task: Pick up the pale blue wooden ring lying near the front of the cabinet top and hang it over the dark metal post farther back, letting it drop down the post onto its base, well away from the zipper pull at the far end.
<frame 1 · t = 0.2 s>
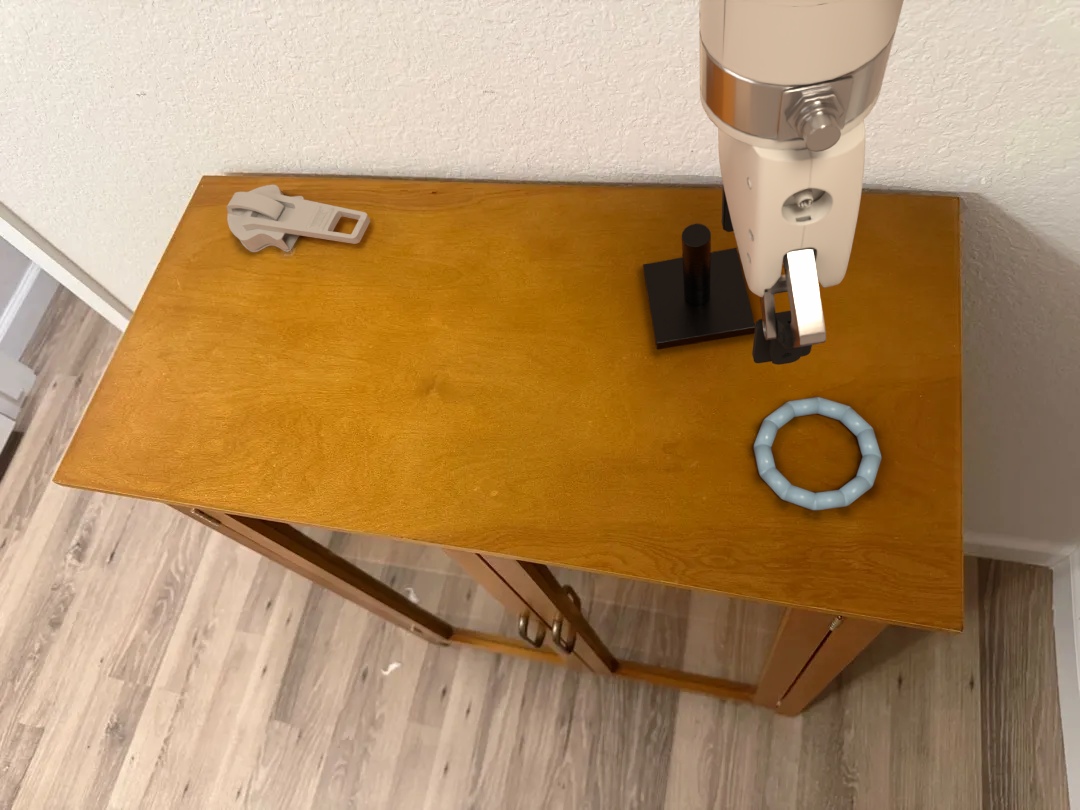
hand: (763, 287, 47), 22 cm above the table, tool pointing down, fingers open, 9 cm apart
zipper pull: (305, 232, 87), on the table
ring: (816, 452, 64), point 1 cm above the table
post: (697, 301, 73), on the table
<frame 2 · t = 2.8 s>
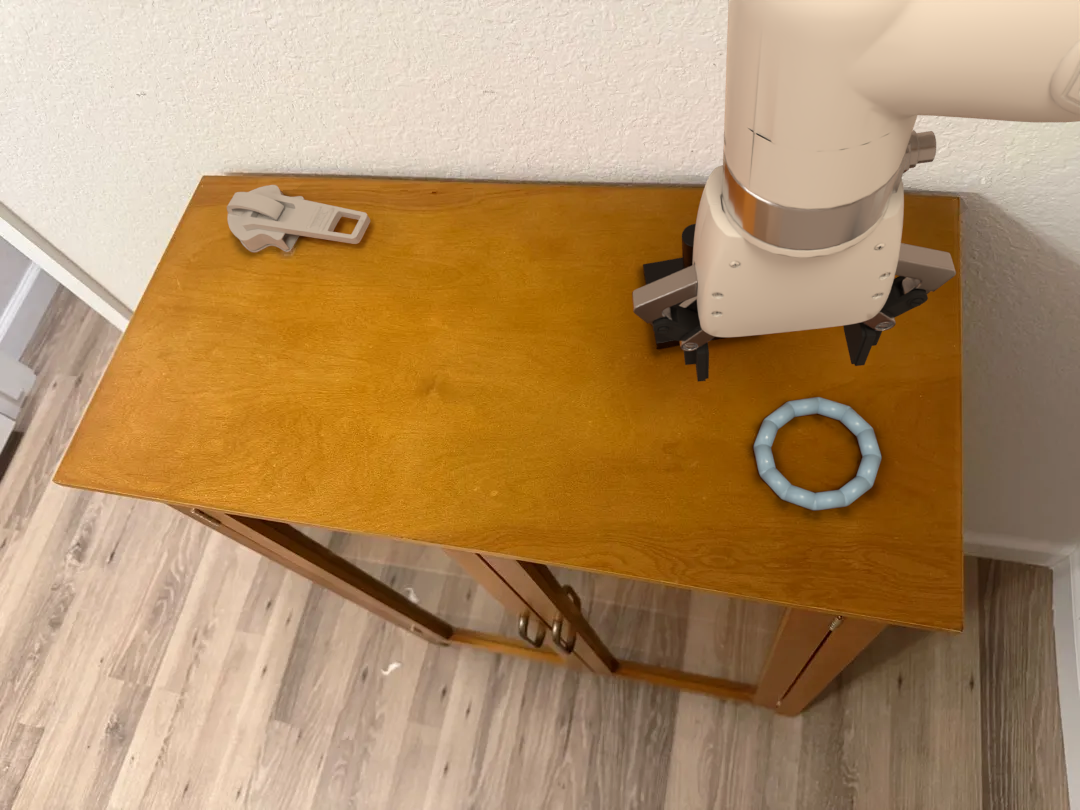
hand: (775, 354, 50), 18 cm above the table, tool pointing down, fingers open, 9 cm apart
nothing on the table moved.
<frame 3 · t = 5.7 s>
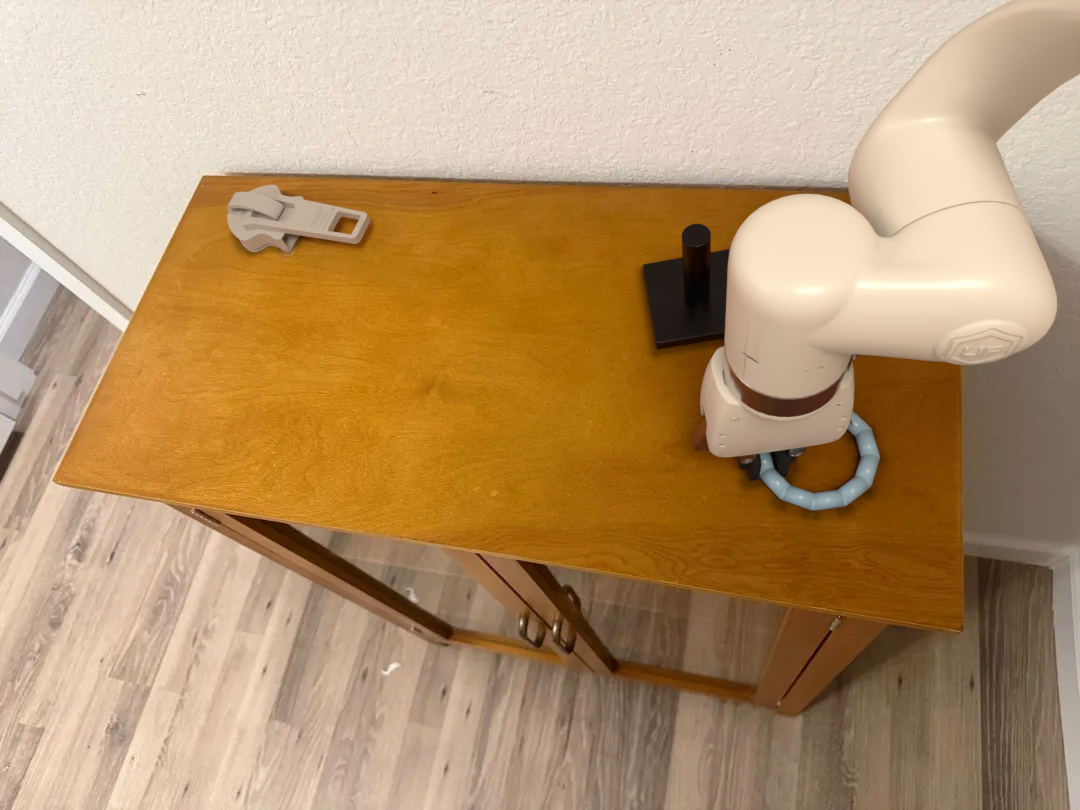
hand: (764, 461, 65), 0 cm above the table, tool pointing down, fingers closed on ring, 1 cm apart
ring: (814, 452, 64), point 1 cm above the table, touching gripper
everything else where it was.
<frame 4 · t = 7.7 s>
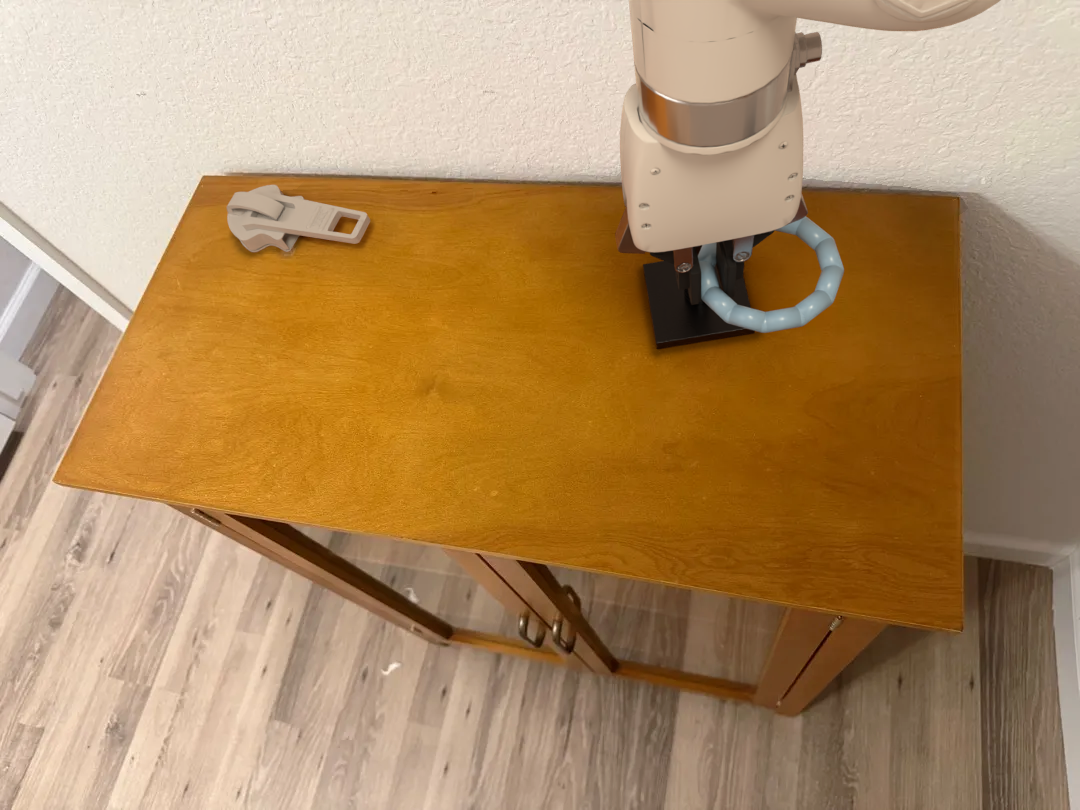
hand: (708, 283, 55), 16 cm above the table, tool pointing down, fingers closed on ring
ring: (767, 269, 54), point 17 cm above the table, touching gripper
everything else where it was.
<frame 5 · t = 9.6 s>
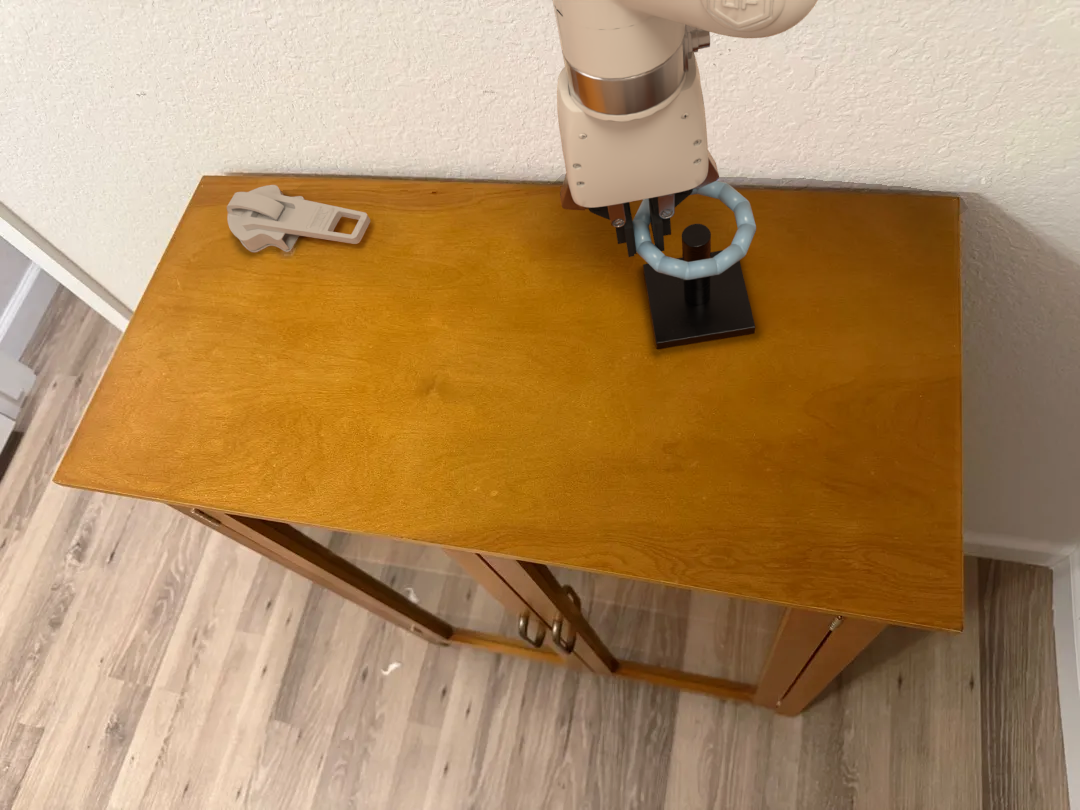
hand: (643, 239, 64), 11 cm above the table, tool pointing down, fingers closed on ring
ring: (692, 226, 63), point 11 cm above the table, touching gripper
everything else where it was.
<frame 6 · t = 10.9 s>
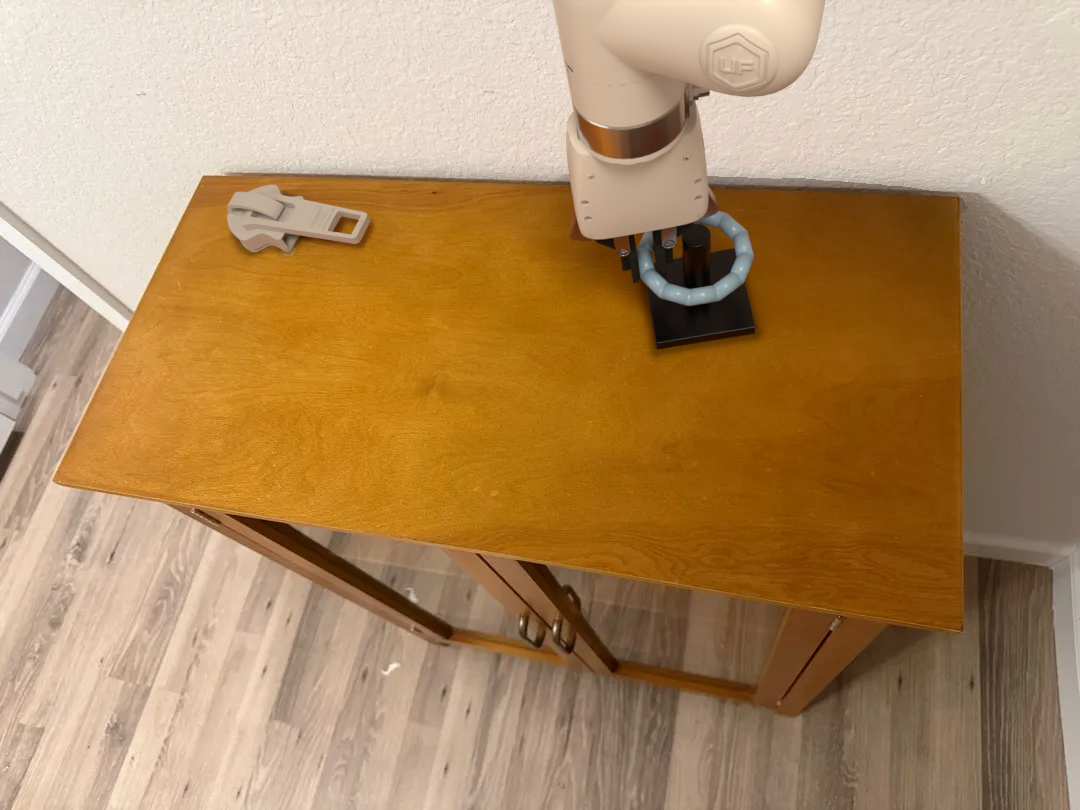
hand: (647, 266, 68), 7 cm above the table, tool pointing down, fingers closed on ring
ring: (693, 255, 67), point 7 cm above the table, touching gripper
everything else where it was.
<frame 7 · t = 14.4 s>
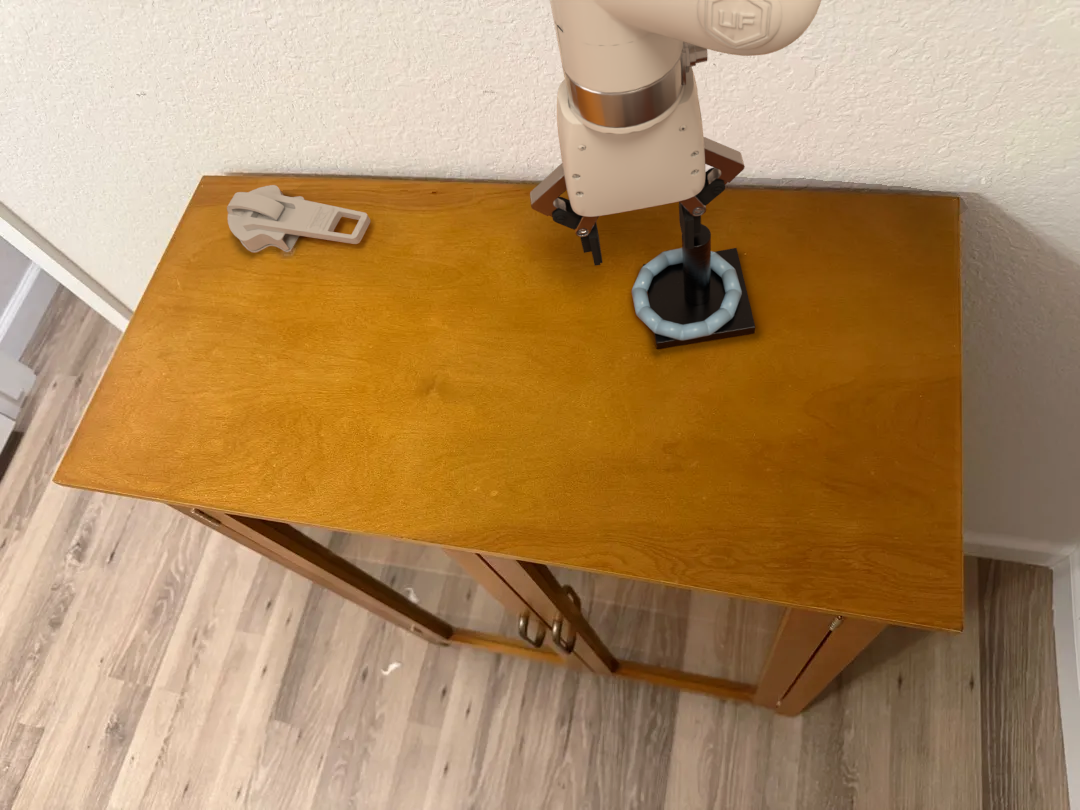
hand: (641, 242, 65), 10 cm above the table, tool pointing down, fingers open, 7 cm apart
ring: (685, 292, 72), point 2 cm above the table, touching post
everything else where it was.
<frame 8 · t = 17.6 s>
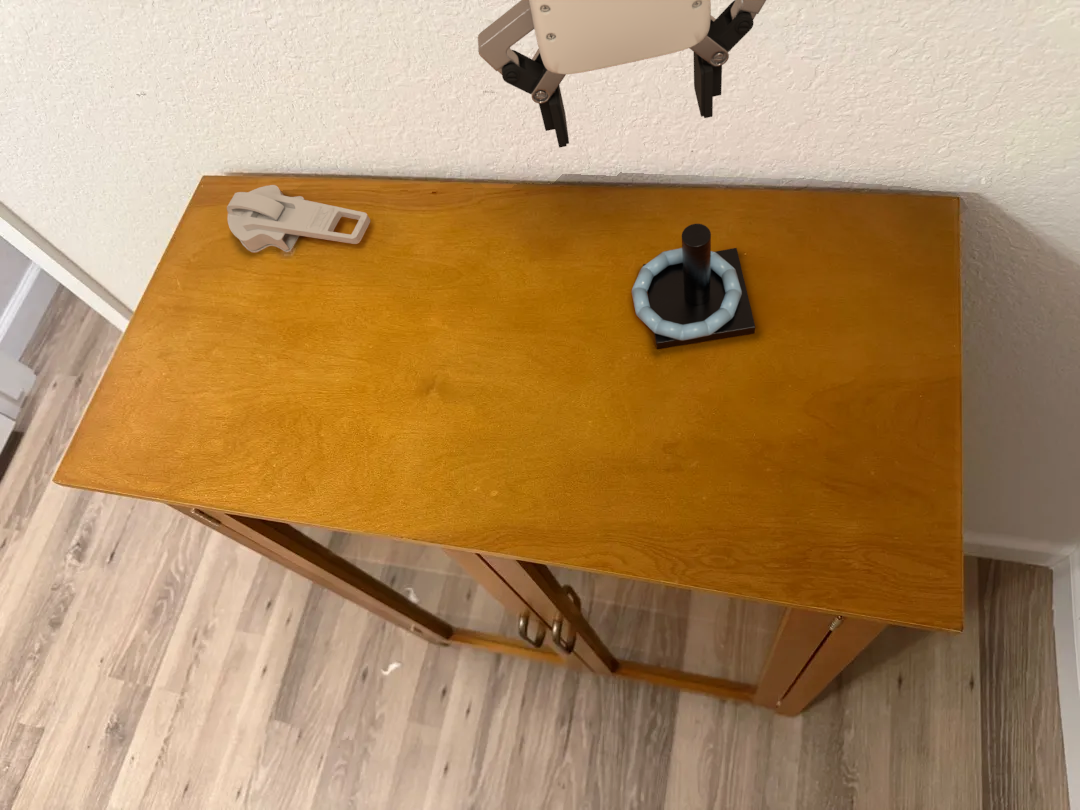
hand: (631, 117, 52), 24 cm above the table, tool pointing down, fingers open, 9 cm apart
nothing on the table moved.
at the end: ring 1.0 cm from the post (horizontally); ring point 1.9 cm above the table; ring touching post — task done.
